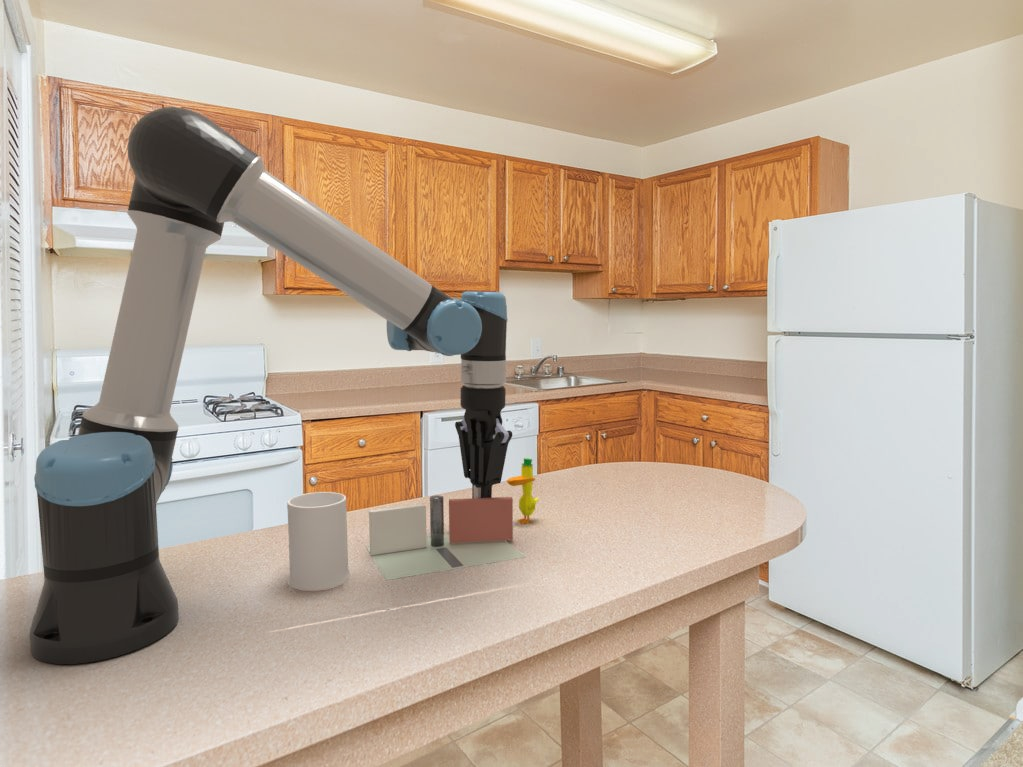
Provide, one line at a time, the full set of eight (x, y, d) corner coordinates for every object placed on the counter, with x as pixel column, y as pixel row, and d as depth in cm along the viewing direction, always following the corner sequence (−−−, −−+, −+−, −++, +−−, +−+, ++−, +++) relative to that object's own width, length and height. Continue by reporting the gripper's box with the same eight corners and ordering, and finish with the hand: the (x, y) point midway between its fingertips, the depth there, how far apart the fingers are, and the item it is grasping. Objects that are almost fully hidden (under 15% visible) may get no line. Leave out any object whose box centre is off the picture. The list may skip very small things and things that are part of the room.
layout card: (386, 582, 92) (386, 579, 92) (365, 548, 106) (365, 546, 106) (525, 558, 101) (525, 556, 101) (490, 530, 115) (490, 528, 115)
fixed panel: (371, 555, 102) (370, 512, 101) (369, 553, 103) (368, 510, 102) (426, 547, 106) (425, 505, 105) (424, 545, 107) (423, 503, 106)
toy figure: (513, 529, 115) (512, 463, 114) (502, 523, 118) (502, 459, 117) (544, 522, 119) (544, 458, 118) (533, 517, 122) (533, 455, 121)
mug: (273, 571, 97) (270, 492, 95) (328, 558, 102) (326, 483, 101) (300, 598, 87) (297, 511, 86) (359, 582, 93) (357, 500, 91)
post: (432, 547, 105) (432, 499, 105) (429, 543, 107) (428, 496, 107) (445, 545, 106) (445, 498, 105) (441, 541, 108) (441, 494, 107)
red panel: (449, 542, 106) (449, 501, 106) (449, 540, 108) (448, 499, 107) (512, 539, 108) (512, 498, 107) (511, 537, 109) (511, 496, 108)
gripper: (442, 382, 110) (442, 516, 113) (489, 390, 100) (487, 537, 103) (477, 379, 115) (476, 508, 118) (525, 387, 105) (522, 527, 108)
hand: (481, 521), depth 110 cm, fingers closed
